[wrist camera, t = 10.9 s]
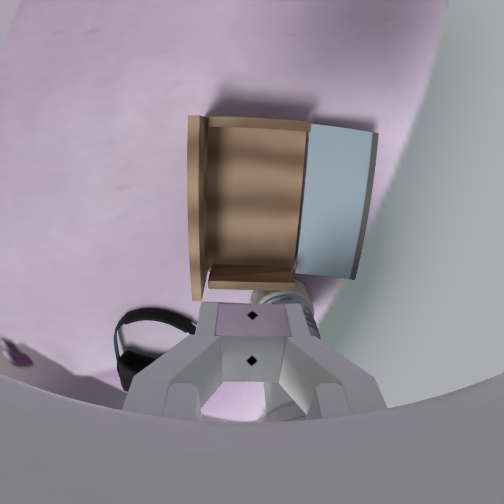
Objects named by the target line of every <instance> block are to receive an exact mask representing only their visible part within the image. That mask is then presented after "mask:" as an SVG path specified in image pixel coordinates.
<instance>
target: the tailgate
mask: <svg viewBox="0 0 504 504" xmlns="http://www.w3.org/2000/svg"><path fill="white" fill-rule="evenodd" d="M377 144H378V133H373V132H367V131H361V130H355V129H349V128H342V127H335V126H327V125H319V124H311V132H309V139H308V152H307V165H306V176H305V187H304V198H303V208H302V218H301V227H300V236H299V245H298V253H297V261H296V269H295V273H298V274H308V275H317V276H327V277H337V278H347V279H352V280H355V278H356V273H357V269H358V264H359V260H360V255H361V250H362V245H363V240H364V235H365V229H366V224H367V218H368V212H369V206H370V200H371V193H372V186H373V179H374V171H375V163H376V154H377Z"/></svg>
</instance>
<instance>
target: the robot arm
mask: <svg viewBox="0 0 504 504" xmlns="http://www.w3.org/2000/svg"><path fill="white" fill-rule="evenodd" d="M222 381H223V382H245V381H252V382H279V384H280V385H281V386H282V387H283V389H284V390H285V391H286V392H287V393H288V394H289V396H290V397H291V398H292V399H293V400H294V401H295V402H296V403H297V405H298V406H299V407H300V408H301V409H302V410H303V411H304V412H305V414H306V418H305V420H302V421H285V422H215V421H202V415H201V408H202V407H203V405H204V404H205V403H206V402H207V401H208V399H209V398H210V397H211V396H212V395H213V393H214V392H215V391H216V390H217V388H218V387H219V386H220V385H221V384H222ZM0 504H504V373H501V374H499V375H497V376H494V377H492V378H489V379H487V380H484V381H482V382H479V383H476V384H474V385H471V386H468V387H465V388H462V389H459V390H457V391H453V392H450V393H447V394H444V395H440V396H437V397H433V398H430V399H426V400H423V401H419V402H415V403H411V404H407V405H402V406H398V407H393V408H389V409H388V408H387V406H386V404H385V401H384V399H383V397H382V394H381V392H380V390H379V387H378V385H377V383H376V380H375V378H374V377H373V376H371V375H370V374H369V373H367V372H366V371H364V370H363V369H361V368H360V367H358V366H357V365H355V364H354V363H353V362H351V361H350V360H348V359H347V358H346V357H344V356H343V355H341V354H340V353H338V352H337V351H336V350H334V349H333V348H331V347H330V346H329V345H327V344H326V343H324V342H323V341H322V340H320V339H319V338H317V337H316V336H311V335H310V331H309V328H308V325H307V322H306V319H305V315H304V312H303V309H302V306H301V304H299V303H295V304H245V303H224V302H219V303H218V302H202V303H201V307H200V311H199V316H198V321H197V326H196V331H195V335H189V336H187V337H186V338H185V339H183V340H182V341H181V342H179V343H178V344H177V345H175V346H174V347H173V348H171V349H170V350H169V351H167V352H166V353H165V354H163V355H162V356H161V357H159V358H158V359H157V360H155V361H154V362H153V363H151V364H150V365H148V366H147V367H146V368H144V369H143V370H142V371H140V372H139V373H138V374H136V375H135V376H134V377H133V380H132V383H131V385H130V388H129V391H128V394H127V397H126V400H125V403H124V406H123V409H122V410H117V409H112V408H107V407H103V406H99V405H94V404H90V403H86V402H82V401H78V400H75V399H71V398H67V397H64V396H61V395H57V394H54V393H51V392H48V391H45V390H42V389H39V388H36V387H33V386H30V385H27V384H25V383H22V382H19V381H17V380H14V379H12V378H9V377H7V376H5V375H2V374H0Z"/></svg>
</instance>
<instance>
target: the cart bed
mask: <svg viewBox="0 0 504 504" xmlns="http://www.w3.org/2000/svg"><path fill="white" fill-rule="evenodd" d="M306 132H311V122H306V121H296V120H285V119H271V118H254V117H209V118H206V117H203V116H200V115H196V116H188V147H187V191H188V233H189V256H190V275H191V291H192V300H195V301H202V296H203V291H204V286H205V282H206V277H207V272H208V271H210V275H209V280H208V288H209V289H238V290H294V288H295V281H294V278H293V275H292V273H293V267H294V259H295V250H296V241H297V232H298V223H299V213H300V203H301V192H302V181H303V170H304V157H305V144H306Z"/></svg>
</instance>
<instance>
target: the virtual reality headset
mask: <svg viewBox="0 0 504 504" xmlns="http://www.w3.org/2000/svg"><path fill="white" fill-rule="evenodd" d="M141 320H153V321H159V322H163V323H166V324H169V325H172V326H174V327H176V328H178V329H180V330H182V331H184V332H185V333H187V332H188V333H189V334H191V335H195V331H196V327H195V326H194V325H193V324H192V321H190V320H188V319H187V318H185V317H183V316H181V315H179V314H176V313H174V312H170V311H167V310H162V309H153V308H146V309H138V310H134V311H131V312H128V313H126V315H125V316H124V317H123V318H122V319H121V320H120V321H119V323H118V324H117V326H116V329H115V334H114V347H115V353H116V358H117V370H118V373H119V377H120V380H121V385H122V387H123V389H124V391H127V392H128V391H129V388H130V385H131V383H132V380H133V377H134V376H135V375H136V374H138V373H139V372H140V371H142V370H143V369H144V368H146V367H147V366H148V365H150V364H151V363H153V362H154V361H155V359H154V358H151V357H146V356H142V355H138V354H136V353H134V352H131V351H126V352H124V353H123V354H122V355H121V357H120V355H119V349H118V343H117V330H118V329H119V328H120V327H121V326H122V325H123V324H129V323H132V322H136V321H141Z"/></svg>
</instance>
